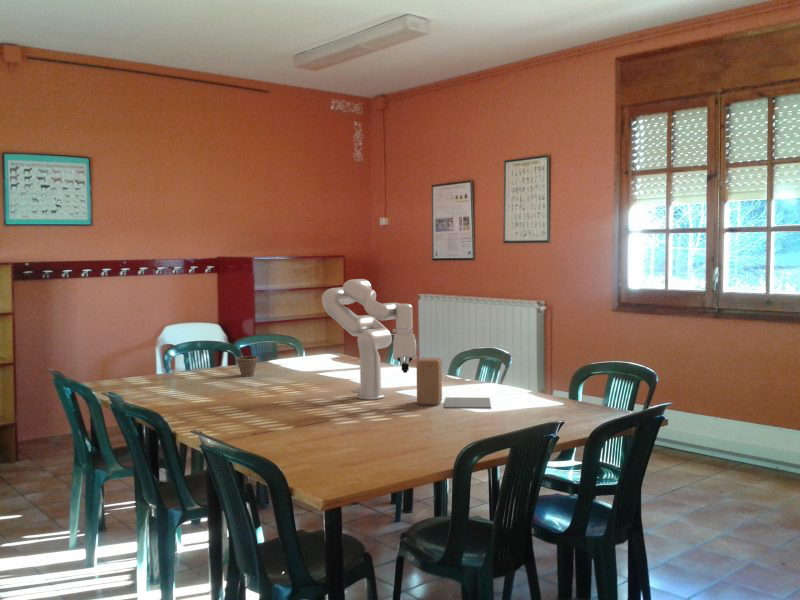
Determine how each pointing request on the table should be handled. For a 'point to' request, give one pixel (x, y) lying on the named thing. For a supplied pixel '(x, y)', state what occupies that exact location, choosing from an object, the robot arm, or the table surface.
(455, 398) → the mat
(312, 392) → the table surface
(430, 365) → the wooden block
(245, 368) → the flower pot
